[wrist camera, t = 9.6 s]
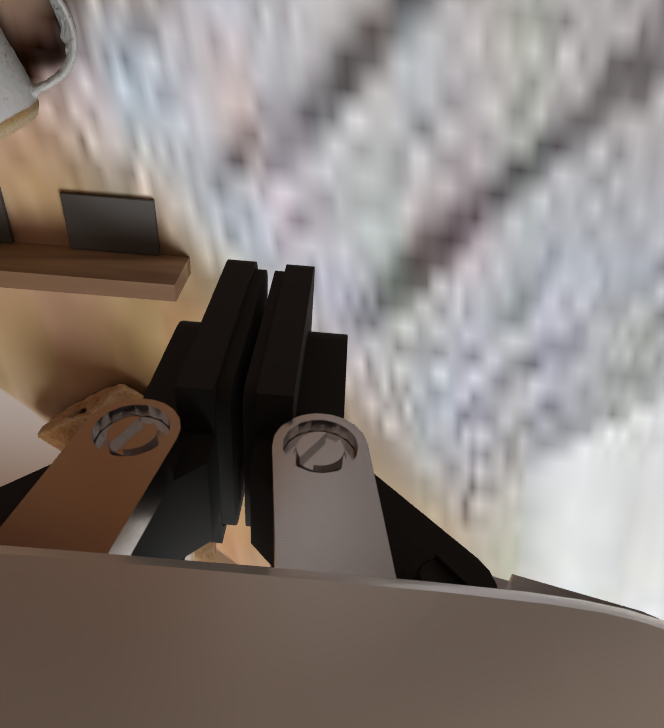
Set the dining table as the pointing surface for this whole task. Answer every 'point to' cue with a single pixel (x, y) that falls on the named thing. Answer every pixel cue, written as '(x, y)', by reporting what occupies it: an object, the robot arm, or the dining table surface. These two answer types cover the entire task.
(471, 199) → the dining table surface
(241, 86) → the dining table surface
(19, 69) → the ceramic mug
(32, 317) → the dining table surface
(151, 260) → the trap box
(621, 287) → the dining table surface
